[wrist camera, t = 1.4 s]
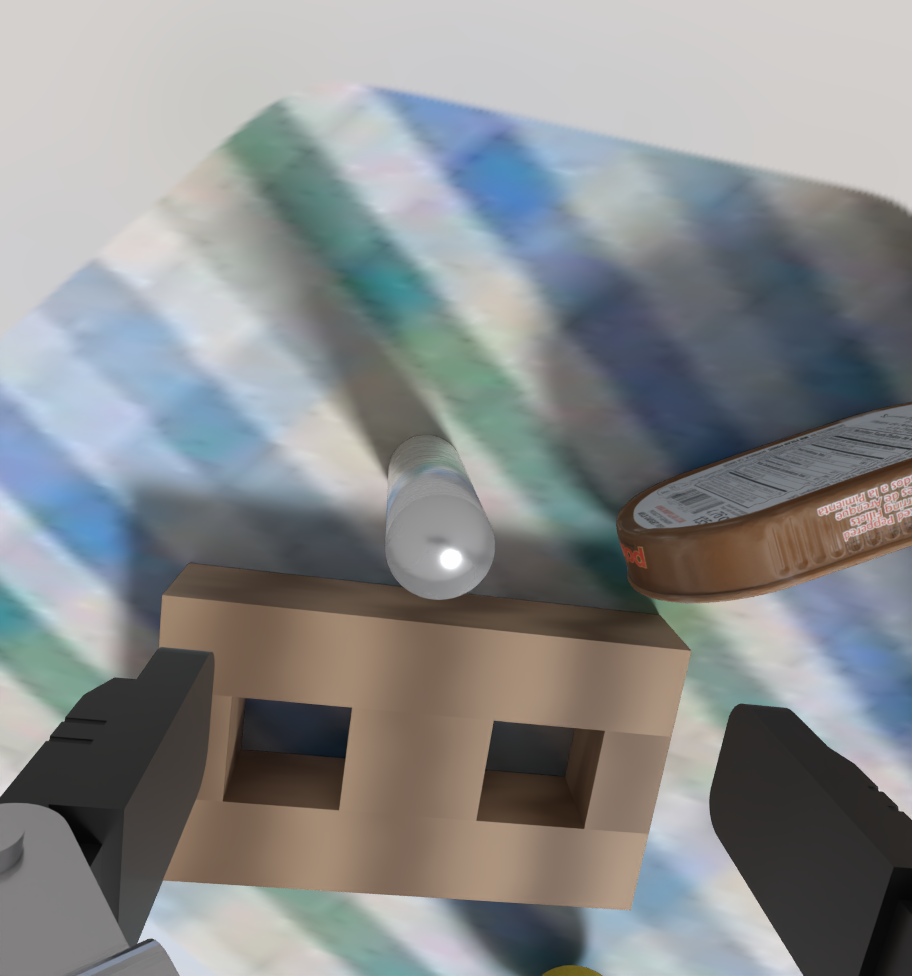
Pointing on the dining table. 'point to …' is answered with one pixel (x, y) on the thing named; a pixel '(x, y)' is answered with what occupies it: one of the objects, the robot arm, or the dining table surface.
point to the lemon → (571, 971)
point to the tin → (775, 513)
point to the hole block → (425, 740)
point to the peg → (435, 521)
